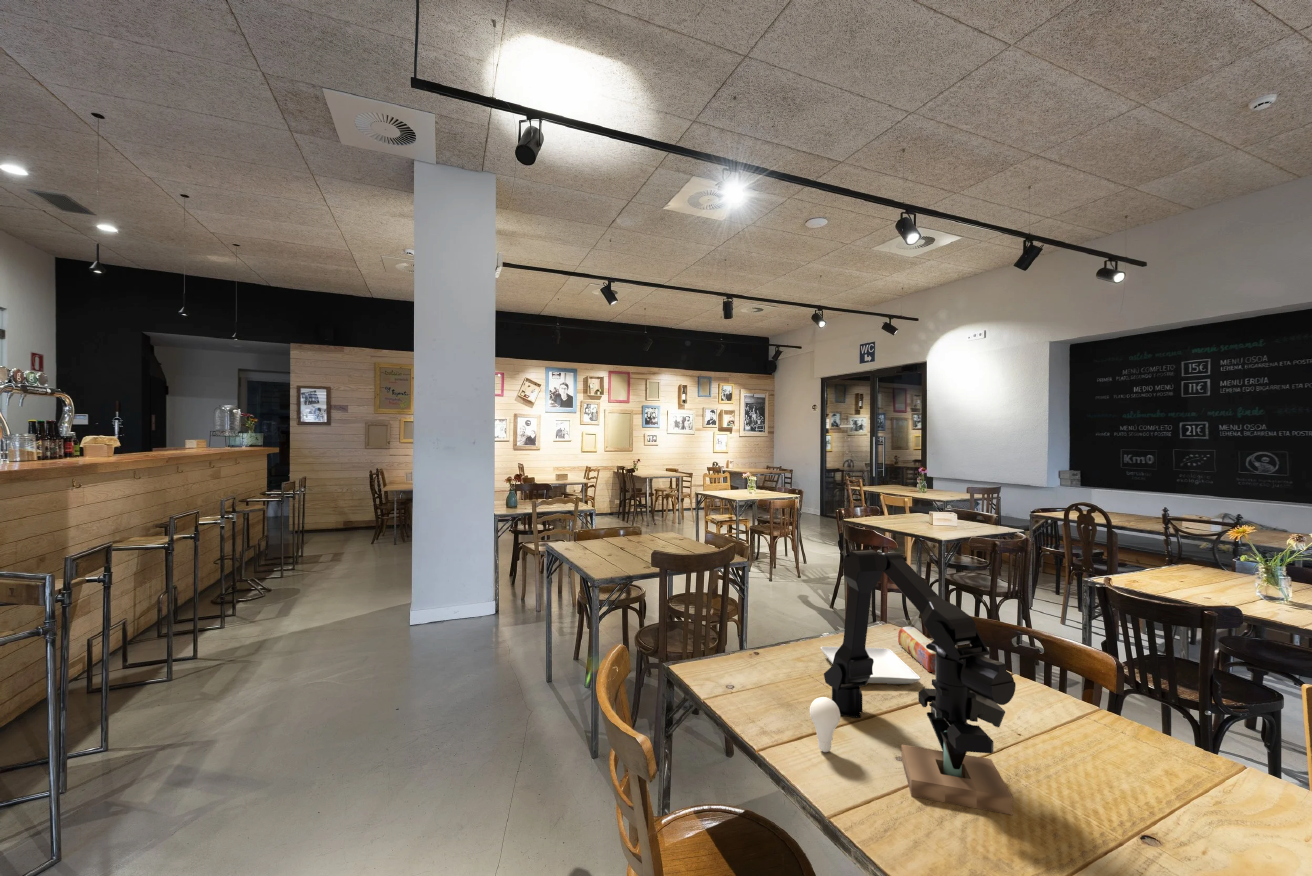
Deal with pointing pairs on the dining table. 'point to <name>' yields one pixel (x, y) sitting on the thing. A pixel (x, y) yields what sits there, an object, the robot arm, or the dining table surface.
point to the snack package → (917, 647)
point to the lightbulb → (824, 720)
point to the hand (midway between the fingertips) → (952, 763)
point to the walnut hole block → (956, 780)
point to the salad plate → (883, 666)
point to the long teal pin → (950, 765)
